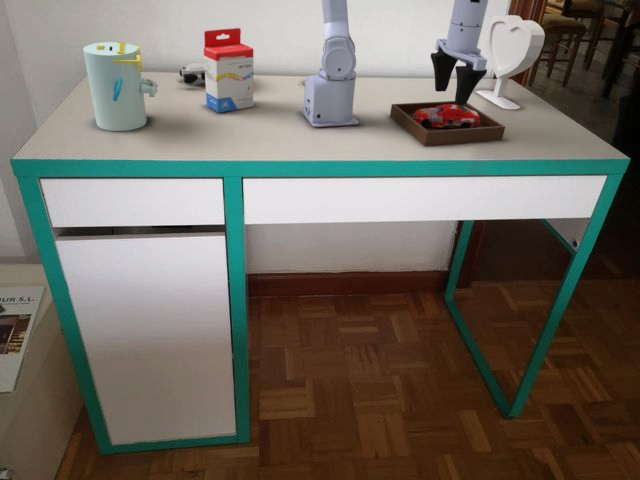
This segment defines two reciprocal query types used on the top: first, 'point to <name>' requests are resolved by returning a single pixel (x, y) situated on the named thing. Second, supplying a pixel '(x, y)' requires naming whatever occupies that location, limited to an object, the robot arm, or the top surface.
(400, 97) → the top surface
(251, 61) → the ink box
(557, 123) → the top surface
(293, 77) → the top surface
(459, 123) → the race car
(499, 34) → the heart sculpture
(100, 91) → the character sculpture
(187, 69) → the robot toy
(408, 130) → the tray
